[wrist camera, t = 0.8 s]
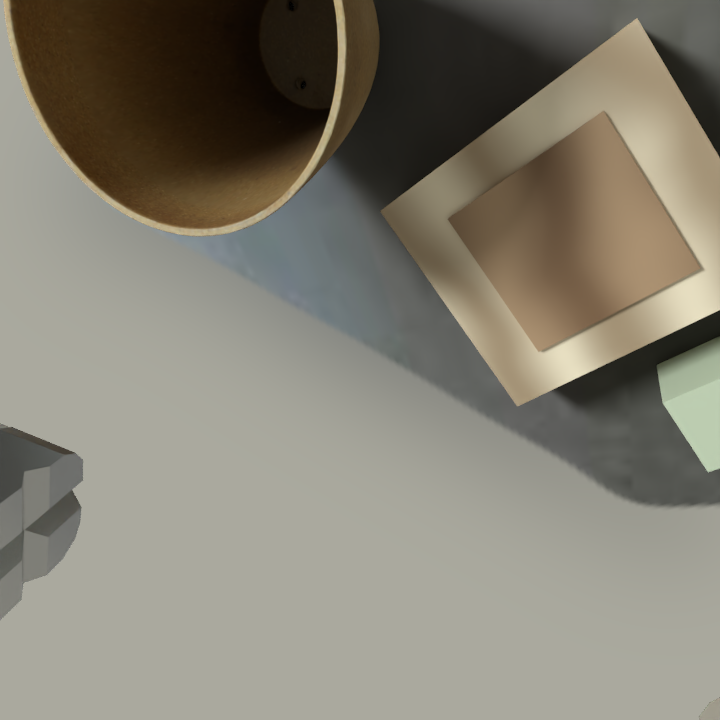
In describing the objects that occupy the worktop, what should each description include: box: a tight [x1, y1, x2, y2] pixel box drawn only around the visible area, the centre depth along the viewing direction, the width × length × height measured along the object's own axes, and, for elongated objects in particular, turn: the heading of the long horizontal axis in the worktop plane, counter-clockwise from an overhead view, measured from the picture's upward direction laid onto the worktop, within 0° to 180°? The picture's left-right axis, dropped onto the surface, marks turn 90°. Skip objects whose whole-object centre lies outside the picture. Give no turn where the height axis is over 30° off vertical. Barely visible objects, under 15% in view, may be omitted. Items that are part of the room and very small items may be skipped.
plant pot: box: [4, 0, 379, 236], centre depth 31 cm, size 15×15×16 cm
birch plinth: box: [380, 19, 720, 406], centre depth 35 cm, size 15×14×5 cm
